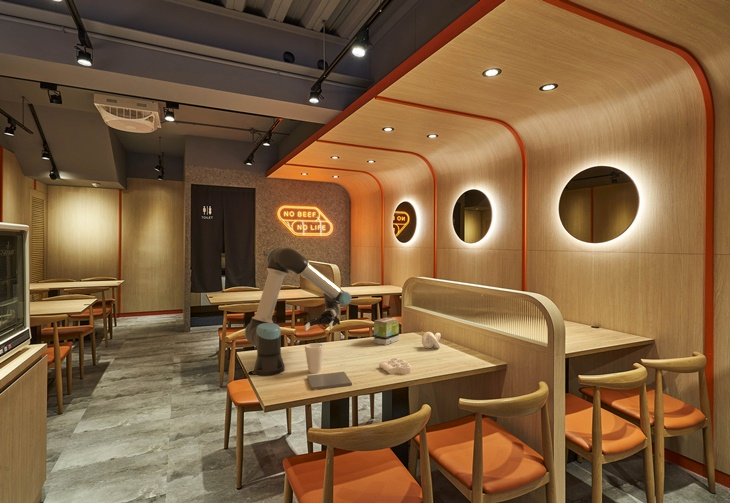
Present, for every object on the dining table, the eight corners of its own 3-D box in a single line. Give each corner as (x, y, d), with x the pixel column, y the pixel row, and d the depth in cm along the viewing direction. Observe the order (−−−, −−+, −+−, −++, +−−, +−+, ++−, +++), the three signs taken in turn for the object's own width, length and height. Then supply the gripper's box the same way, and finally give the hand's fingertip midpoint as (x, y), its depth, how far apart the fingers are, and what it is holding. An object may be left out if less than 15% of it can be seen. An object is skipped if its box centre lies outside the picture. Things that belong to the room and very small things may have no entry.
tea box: (386, 345, 239) (386, 322, 239) (373, 343, 245) (373, 320, 245) (399, 340, 251) (399, 318, 251) (386, 338, 257) (386, 316, 257)
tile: (311, 390, 167) (311, 387, 167) (307, 378, 182) (307, 375, 182) (351, 385, 172) (351, 382, 172) (344, 374, 187) (344, 371, 187)
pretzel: (420, 349, 229) (420, 334, 228) (423, 344, 240) (422, 330, 240) (439, 350, 225) (439, 335, 225) (441, 345, 237) (441, 331, 237)
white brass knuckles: (376, 366, 199) (401, 362, 205) (391, 377, 182) (418, 372, 188) (376, 360, 199) (401, 356, 205) (391, 370, 182) (418, 366, 188)
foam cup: (326, 368, 196) (325, 343, 196) (322, 374, 187) (321, 348, 187) (308, 368, 197) (307, 343, 197) (303, 374, 188) (302, 347, 188)
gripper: (349, 321, 221) (341, 332, 200) (308, 324, 225) (296, 336, 204) (348, 308, 220) (339, 318, 199) (307, 311, 225) (294, 322, 204)
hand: (317, 327), depth 202 cm, fingers open, 13 cm apart
